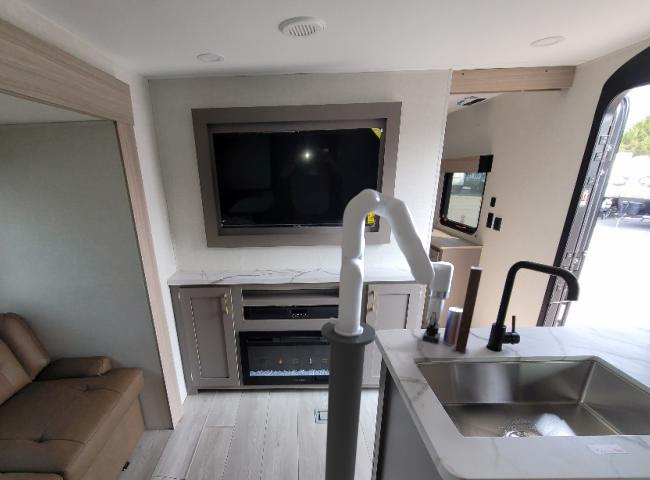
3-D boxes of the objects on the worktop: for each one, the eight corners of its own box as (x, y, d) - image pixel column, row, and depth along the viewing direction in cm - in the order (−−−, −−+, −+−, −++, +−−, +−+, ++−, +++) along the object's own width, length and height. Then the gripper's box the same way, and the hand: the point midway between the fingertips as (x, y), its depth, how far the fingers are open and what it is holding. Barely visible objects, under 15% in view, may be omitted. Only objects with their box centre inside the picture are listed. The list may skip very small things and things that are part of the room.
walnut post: (454, 351, 129) (470, 268, 117) (455, 347, 132) (471, 266, 120) (464, 353, 127) (482, 269, 115) (465, 349, 130) (482, 267, 118)
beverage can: (440, 342, 136) (446, 309, 131) (446, 337, 140) (452, 305, 134) (454, 347, 132) (461, 313, 127) (461, 342, 136) (467, 309, 130)
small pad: (425, 332, 137) (426, 326, 136) (427, 328, 140) (428, 322, 139) (437, 334, 134) (438, 328, 133) (438, 330, 138) (439, 324, 137)
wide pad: (422, 340, 138) (423, 335, 137) (424, 334, 142) (425, 330, 142) (437, 343, 135) (438, 338, 134) (439, 338, 140) (440, 333, 139)
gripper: (431, 285, 140) (425, 324, 146) (425, 297, 126) (418, 339, 133) (450, 288, 136) (443, 327, 143) (446, 301, 123) (438, 344, 129)
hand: (431, 333), depth 138 cm, fingers closed on small pad, 4 cm apart
